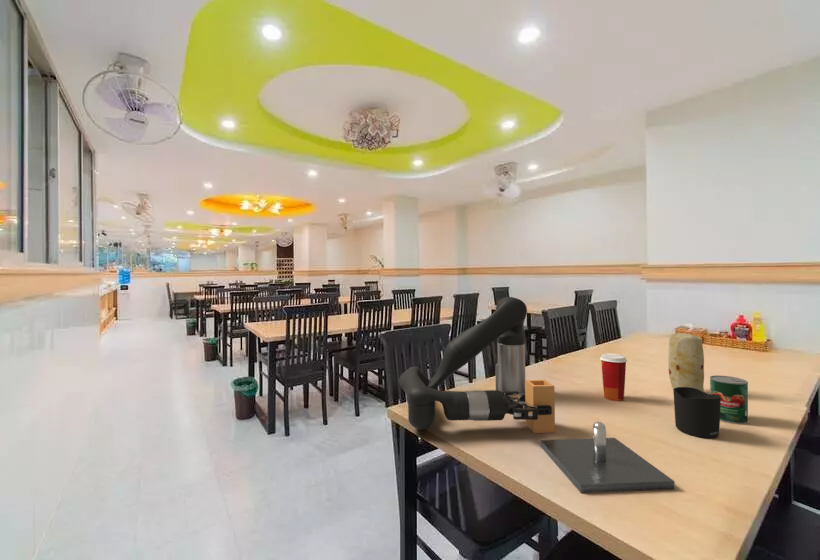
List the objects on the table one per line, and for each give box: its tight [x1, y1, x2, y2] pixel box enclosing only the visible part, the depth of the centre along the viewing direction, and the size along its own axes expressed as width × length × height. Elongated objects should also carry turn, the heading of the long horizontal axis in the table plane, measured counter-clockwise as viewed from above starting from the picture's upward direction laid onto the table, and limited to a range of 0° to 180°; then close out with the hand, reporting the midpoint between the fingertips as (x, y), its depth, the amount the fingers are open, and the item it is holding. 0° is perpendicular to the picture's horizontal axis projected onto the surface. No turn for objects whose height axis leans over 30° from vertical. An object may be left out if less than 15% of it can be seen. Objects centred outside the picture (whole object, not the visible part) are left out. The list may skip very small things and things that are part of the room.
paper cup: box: [599, 353, 628, 402], centre depth 115 cm, size 8×8×14 cm
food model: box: [667, 332, 705, 392], centre depth 120 cm, size 10×7×20 cm
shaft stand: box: [540, 421, 675, 494], centre depth 75 cm, size 18×18×9 cm
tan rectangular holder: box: [525, 379, 556, 434], centre depth 93 cm, size 6×6×12 cm
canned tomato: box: [709, 374, 749, 425], centre depth 98 cm, size 8×8×11 cm
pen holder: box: [672, 387, 721, 439], centre depth 90 cm, size 9×9×10 cm
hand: (544, 403), depth 93 cm, fingers open, 8 cm apart
